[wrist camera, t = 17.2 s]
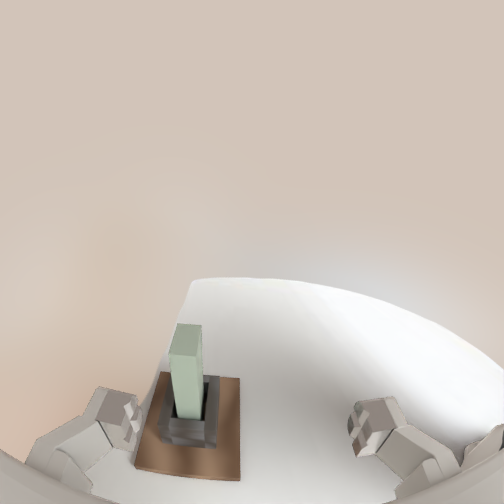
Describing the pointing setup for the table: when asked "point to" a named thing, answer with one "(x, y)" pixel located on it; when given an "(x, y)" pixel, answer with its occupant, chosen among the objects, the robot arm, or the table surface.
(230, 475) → the wooden base with socket
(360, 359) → the table surface
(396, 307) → the table surface
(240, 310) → the table surface
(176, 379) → the pale green block
